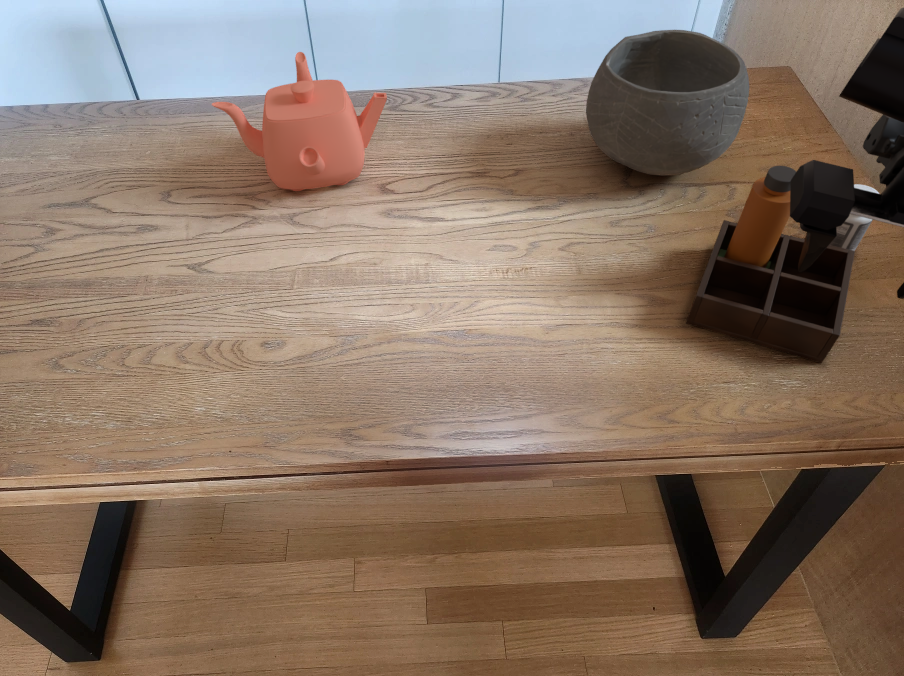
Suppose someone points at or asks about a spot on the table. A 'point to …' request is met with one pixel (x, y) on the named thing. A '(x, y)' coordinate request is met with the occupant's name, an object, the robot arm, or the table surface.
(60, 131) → the table surface
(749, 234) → the amber bottle
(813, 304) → the rack
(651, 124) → the bowl
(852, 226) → the pill bottle
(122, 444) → the table surface
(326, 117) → the teapot
